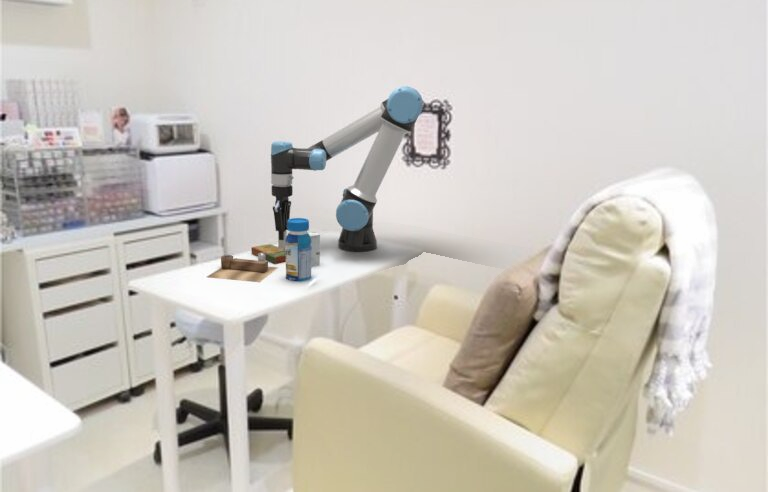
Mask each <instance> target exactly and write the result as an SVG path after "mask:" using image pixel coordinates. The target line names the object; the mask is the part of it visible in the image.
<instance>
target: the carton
mask: <svg viewBox="0 0 768 492" xmlns="http://www.w3.org/2000/svg"><path fill="white" fill-rule="evenodd" d="M258 253H265V258H266V261H267V262H268V263H271V264H273V265H278V264H285V263H286V253H285V249H284V248H279V247H278V246H276V245H274V244H270V243H269V244H263V245H257V246H252V247H251V255H253V256H255V257H257V258H258Z"/></svg>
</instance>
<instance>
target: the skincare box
mask: <svg viewBox="0 0 768 492" xmlns="http://www.w3.org/2000/svg"><path fill="white" fill-rule="evenodd" d="M308 234H309V236H310V238H311V244H310V245H311V247H312V252H311V268H312V267H318V266H319V267H320V266H321V265H320V264H321V263H320V260H321V255H320V254H321V247H320V246H321V234H320V233H317V232H313V231H312V232H308Z"/></svg>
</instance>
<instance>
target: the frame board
mask: <svg viewBox="0 0 768 492" xmlns="http://www.w3.org/2000/svg"><path fill="white" fill-rule="evenodd" d="M277 269H279V267H277V266H268V270H267V271H265V272H258V271H249V270H239V269H231V268H229V269H224V268H221V267H220V268H218V269H217V270H214V272H212V273H210V274H209V275H207V276H206V278H211V279H220V280H230V281H231V280H232V281H242V282H243V281H244V282H251V283H252V282H253V283H261V282H262V281H263V280H264V279H266V278H267V277H268V276H270V275H271V274H273V272H275V271H276V270H277Z"/></svg>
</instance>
